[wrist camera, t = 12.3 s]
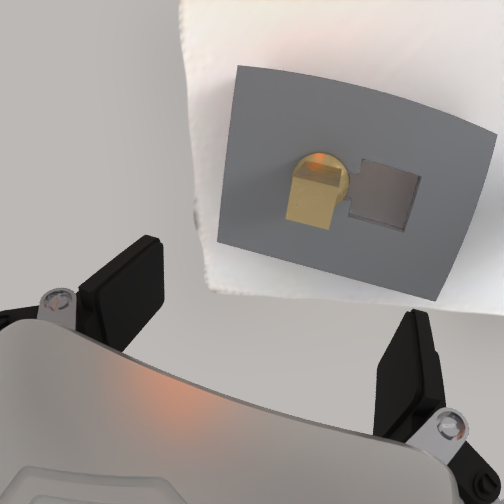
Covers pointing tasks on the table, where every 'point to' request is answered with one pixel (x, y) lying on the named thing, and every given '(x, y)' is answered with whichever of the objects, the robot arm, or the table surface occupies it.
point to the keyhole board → (351, 154)
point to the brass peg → (317, 189)
